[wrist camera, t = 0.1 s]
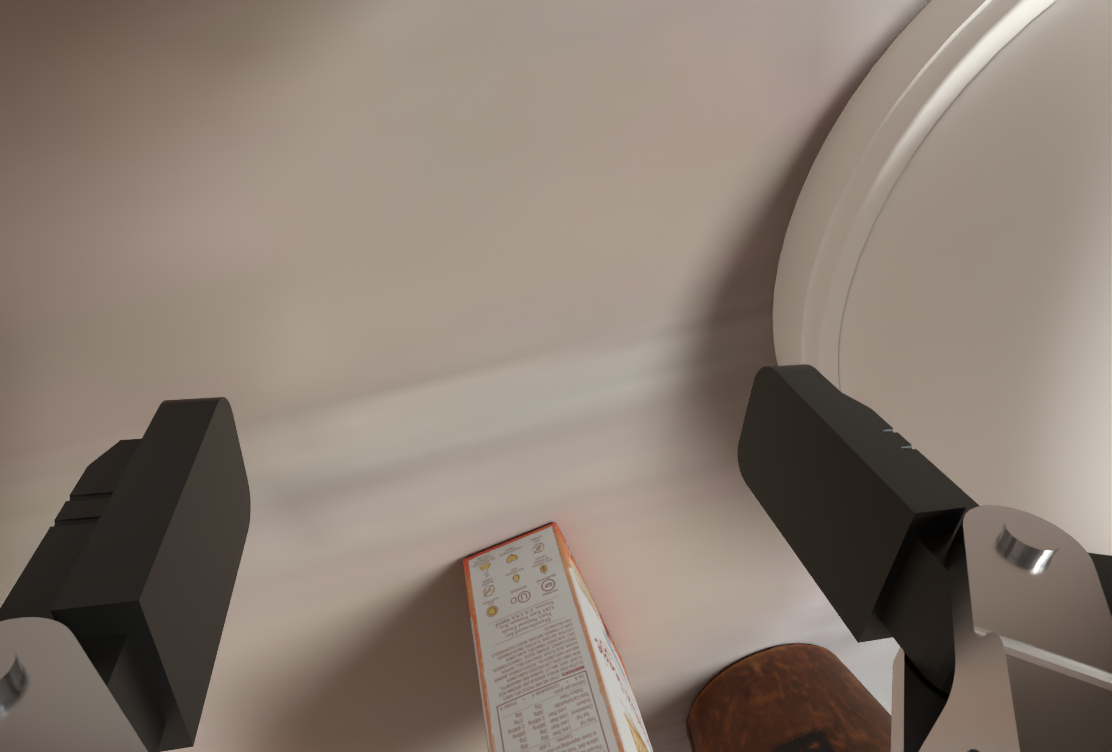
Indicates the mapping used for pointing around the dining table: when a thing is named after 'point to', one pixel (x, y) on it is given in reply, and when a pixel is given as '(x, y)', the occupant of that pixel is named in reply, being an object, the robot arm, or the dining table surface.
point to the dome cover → (972, 254)
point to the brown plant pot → (788, 706)
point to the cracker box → (546, 653)
